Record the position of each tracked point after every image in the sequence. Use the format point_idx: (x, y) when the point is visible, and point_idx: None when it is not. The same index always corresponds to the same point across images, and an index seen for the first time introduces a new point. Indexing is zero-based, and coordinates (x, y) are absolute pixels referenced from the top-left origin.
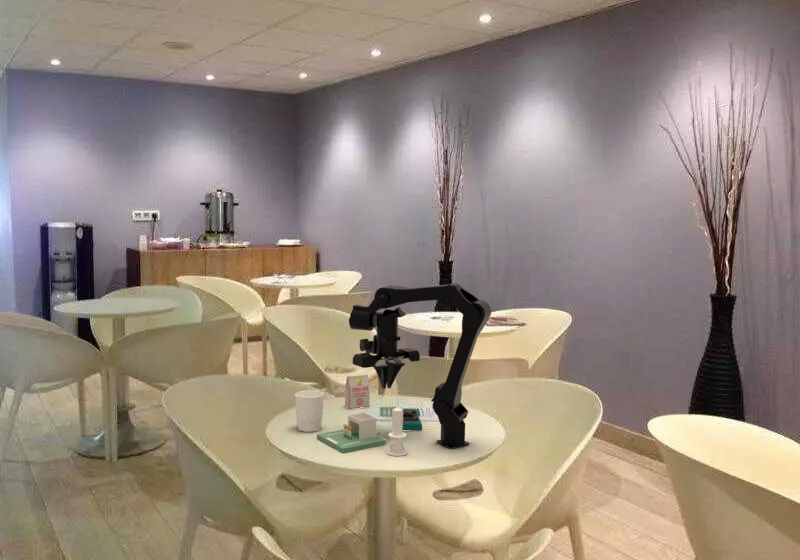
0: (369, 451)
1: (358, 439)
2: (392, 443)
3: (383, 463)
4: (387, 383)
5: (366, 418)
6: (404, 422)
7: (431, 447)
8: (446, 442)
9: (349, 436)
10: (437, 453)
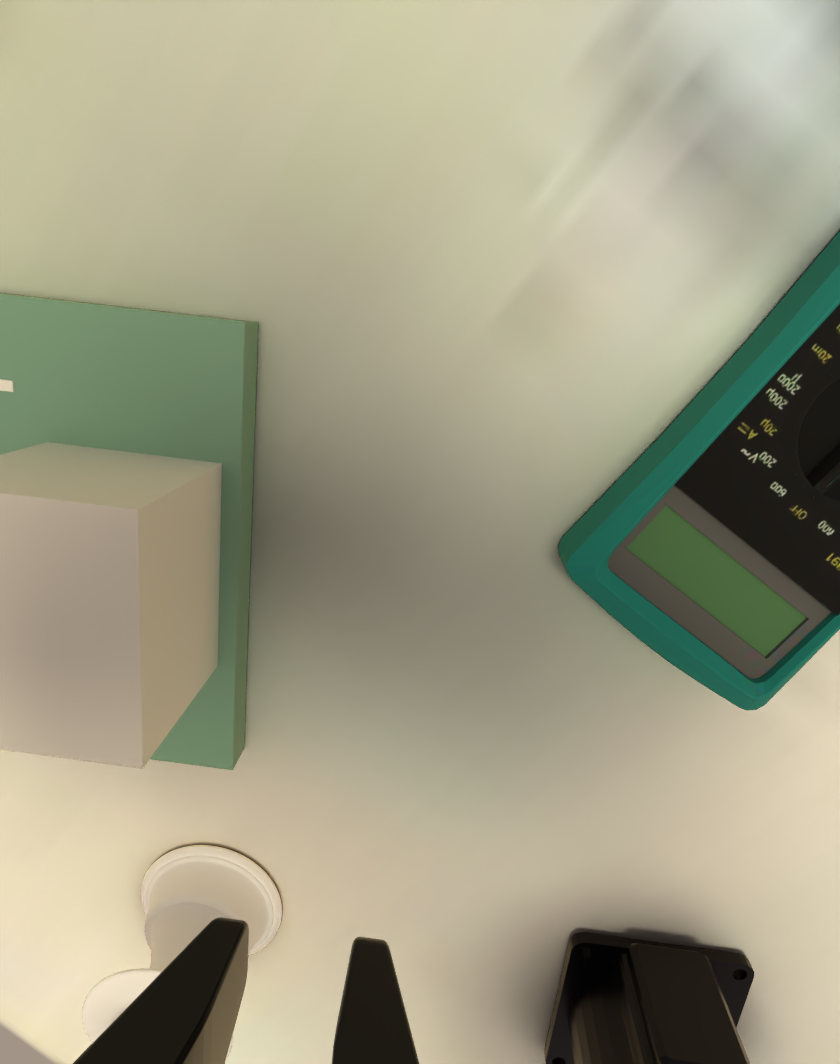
0: (64, 777)
1: None
2: (155, 941)
3: (32, 966)
4: (337, 1038)
5: (47, 702)
6: (635, 616)
7: (473, 962)
8: (570, 1037)
9: None
10: (420, 1044)
